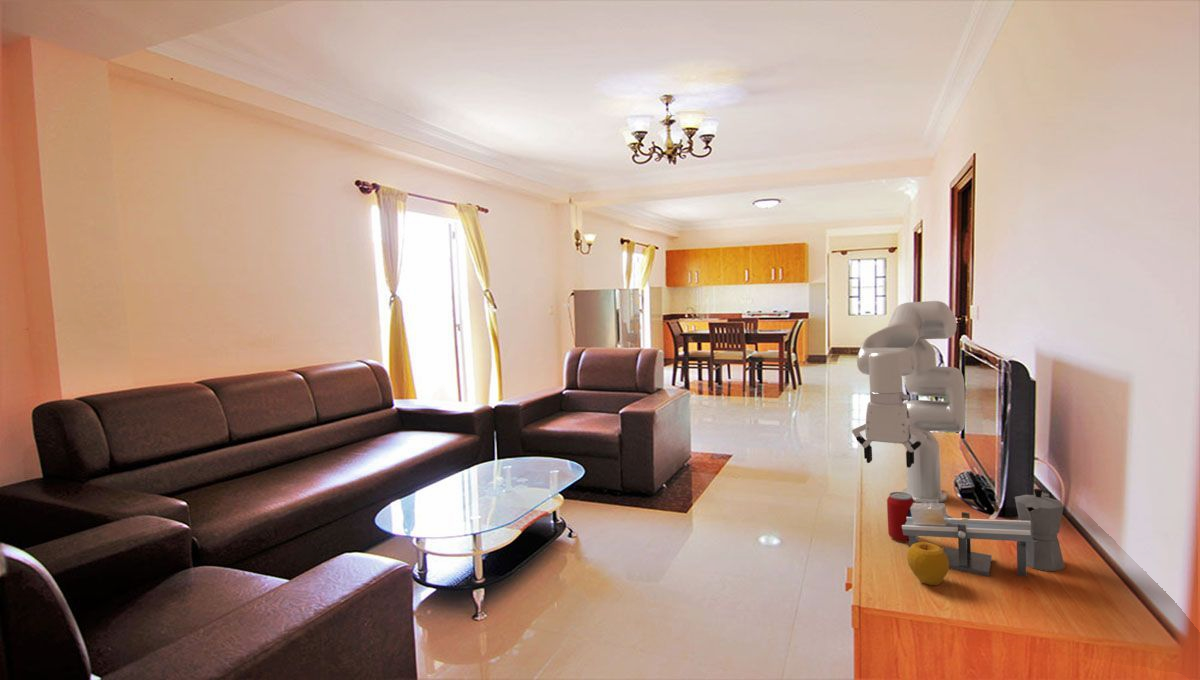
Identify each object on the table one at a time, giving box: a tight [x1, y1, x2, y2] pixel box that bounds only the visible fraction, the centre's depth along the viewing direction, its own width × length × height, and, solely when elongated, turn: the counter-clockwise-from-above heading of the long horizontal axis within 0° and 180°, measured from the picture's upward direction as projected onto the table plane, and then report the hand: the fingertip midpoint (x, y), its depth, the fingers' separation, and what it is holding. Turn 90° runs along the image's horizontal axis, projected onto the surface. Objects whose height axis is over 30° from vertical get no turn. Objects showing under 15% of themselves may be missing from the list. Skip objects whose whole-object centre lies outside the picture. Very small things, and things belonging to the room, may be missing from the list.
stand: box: [908, 511, 1027, 578], centre depth 133 cm, size 11×24×11 cm, turn 51°
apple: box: [906, 541, 950, 586], centre depth 126 cm, size 9×8×9 cm
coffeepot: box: [1014, 488, 1066, 572], centre depth 131 cm, size 15×9×18 cm, turn 127°
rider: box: [910, 502, 948, 527], centre depth 138 cm, size 4×7×5 cm, turn 51°
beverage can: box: [886, 491, 916, 543], centre depth 149 cm, size 7×7×12 cm
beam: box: [902, 517, 1033, 542], centre depth 133 cm, size 7×26×2 cm, turn 51°
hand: (889, 463), depth 142 cm, fingers open, 9 cm apart
